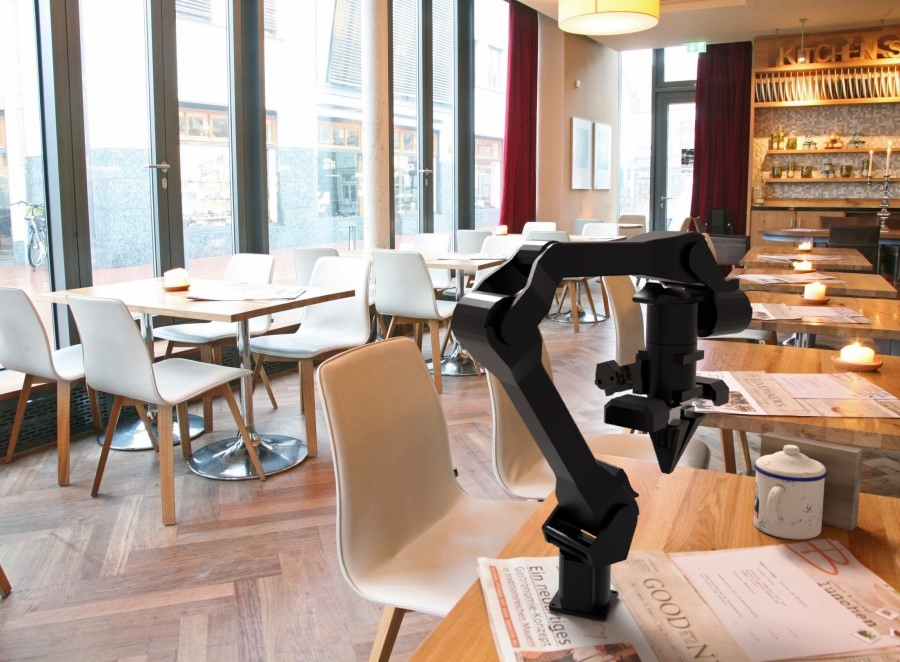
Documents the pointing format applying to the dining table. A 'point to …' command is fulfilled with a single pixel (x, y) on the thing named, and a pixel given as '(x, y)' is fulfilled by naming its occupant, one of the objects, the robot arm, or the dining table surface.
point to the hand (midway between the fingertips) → (666, 472)
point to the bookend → (828, 475)
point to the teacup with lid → (789, 494)
